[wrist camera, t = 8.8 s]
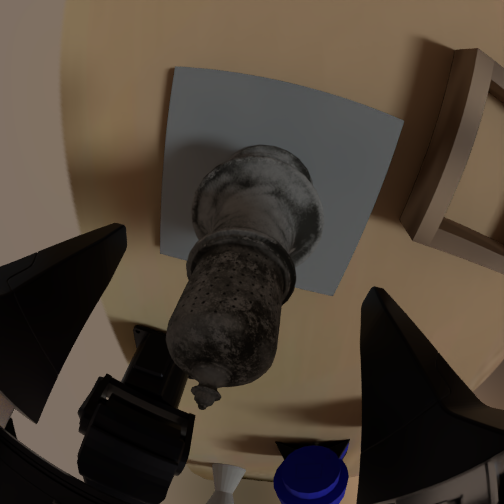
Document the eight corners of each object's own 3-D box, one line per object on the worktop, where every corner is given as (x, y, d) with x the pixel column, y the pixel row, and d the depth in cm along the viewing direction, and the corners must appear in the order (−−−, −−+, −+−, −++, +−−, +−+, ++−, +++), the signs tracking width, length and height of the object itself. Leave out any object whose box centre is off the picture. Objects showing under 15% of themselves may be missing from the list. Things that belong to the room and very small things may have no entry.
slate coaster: (332, 288, 19) (332, 296, 19) (164, 247, 19) (160, 253, 19) (399, 118, 12) (404, 121, 12) (180, 67, 12) (175, 66, 12)
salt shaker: (191, 175, 15) (47, 346, 5) (282, 118, 13) (225, 255, 3) (250, 253, 18) (196, 449, 8) (337, 211, 15) (374, 433, 5)
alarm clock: (283, 456, 44) (273, 522, 31) (272, 437, 37) (259, 521, 25) (346, 453, 41) (343, 522, 28) (351, 434, 34) (348, 521, 22)
